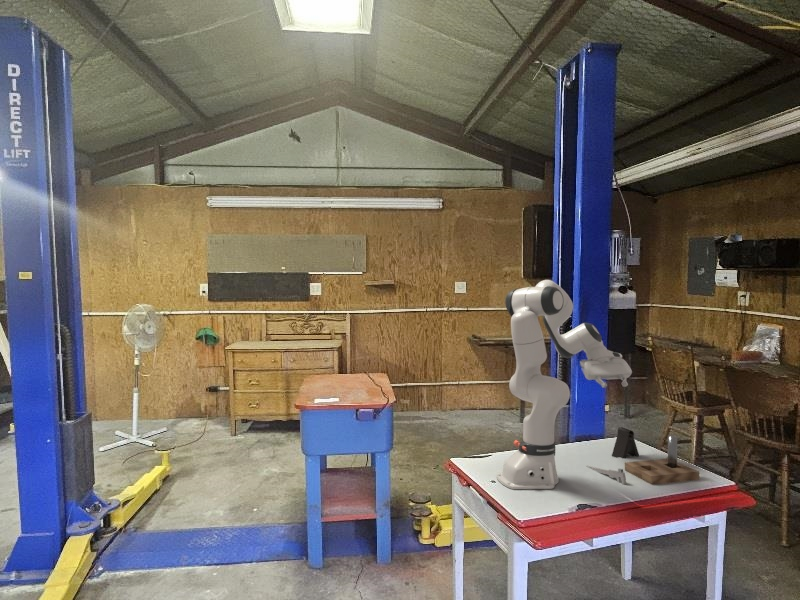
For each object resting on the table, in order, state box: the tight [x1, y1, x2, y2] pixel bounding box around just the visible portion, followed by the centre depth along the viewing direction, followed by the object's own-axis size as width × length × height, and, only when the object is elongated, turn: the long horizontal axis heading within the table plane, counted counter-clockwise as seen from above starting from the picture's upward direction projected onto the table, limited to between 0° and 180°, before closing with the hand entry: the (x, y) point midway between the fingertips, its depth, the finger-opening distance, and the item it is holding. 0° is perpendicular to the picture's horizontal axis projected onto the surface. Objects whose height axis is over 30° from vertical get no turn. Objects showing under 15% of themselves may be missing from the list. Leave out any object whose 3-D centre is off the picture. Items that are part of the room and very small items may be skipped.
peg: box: [667, 434, 678, 468], centre depth 176 cm, size 3×3×14 cm
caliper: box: [585, 465, 627, 486], centre depth 176 cm, size 20×1×6 cm, turn 19°
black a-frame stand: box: [611, 426, 640, 459], centre depth 197 cm, size 9×6×12 cm, turn 106°
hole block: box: [624, 457, 700, 486], centre depth 175 cm, size 20×14×4 cm
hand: (615, 386), depth 190 cm, fingers open, 8 cm apart
